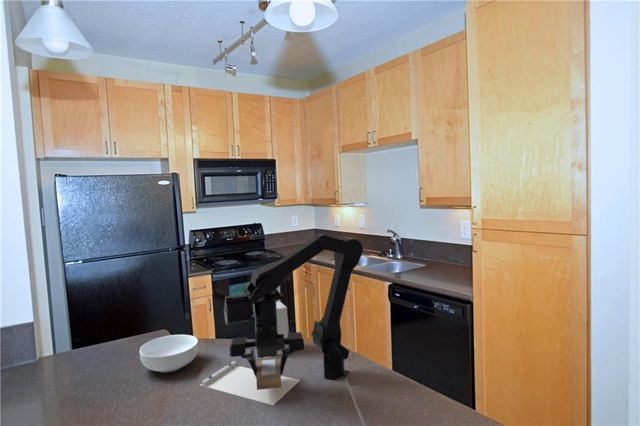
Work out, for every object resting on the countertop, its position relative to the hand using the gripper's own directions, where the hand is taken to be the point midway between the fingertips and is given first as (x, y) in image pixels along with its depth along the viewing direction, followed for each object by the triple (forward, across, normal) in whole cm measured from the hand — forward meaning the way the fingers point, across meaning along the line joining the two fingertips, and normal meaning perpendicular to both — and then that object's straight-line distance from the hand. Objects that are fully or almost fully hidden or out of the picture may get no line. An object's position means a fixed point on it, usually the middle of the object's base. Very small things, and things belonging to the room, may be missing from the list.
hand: (269, 375), depth 100 cm
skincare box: (+5, +2, +24) cm, 25 cm away
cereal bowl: (+5, -30, +21) cm, 37 cm away
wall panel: (+4, -5, +4) cm, 8 cm away
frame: (+1, 0, 0) cm, 1 cm away
